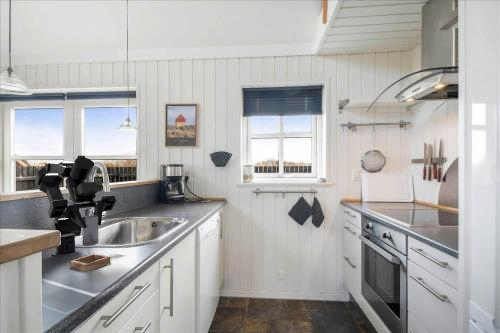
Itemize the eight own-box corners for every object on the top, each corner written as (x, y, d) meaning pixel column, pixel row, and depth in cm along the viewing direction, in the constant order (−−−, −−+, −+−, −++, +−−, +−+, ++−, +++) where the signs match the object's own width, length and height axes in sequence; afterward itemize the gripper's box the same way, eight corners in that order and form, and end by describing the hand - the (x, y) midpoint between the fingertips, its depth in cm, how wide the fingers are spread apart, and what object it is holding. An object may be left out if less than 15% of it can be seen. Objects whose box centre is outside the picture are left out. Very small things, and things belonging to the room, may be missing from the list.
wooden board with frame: (64, 269, 82) (64, 260, 82) (109, 253, 96) (109, 246, 96) (88, 275, 77) (88, 266, 77) (132, 258, 91) (132, 251, 91)
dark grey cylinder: (81, 243, 83) (80, 216, 83) (96, 241, 87) (96, 214, 87) (84, 246, 80) (84, 218, 80) (100, 243, 83) (100, 216, 83)
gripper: (51, 174, 78) (64, 214, 72) (114, 172, 93) (130, 206, 87) (43, 198, 83) (54, 238, 77) (104, 193, 98) (118, 226, 91)
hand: (92, 226), depth 83 cm, fingers closed on dark grey cylinder, 4 cm apart
